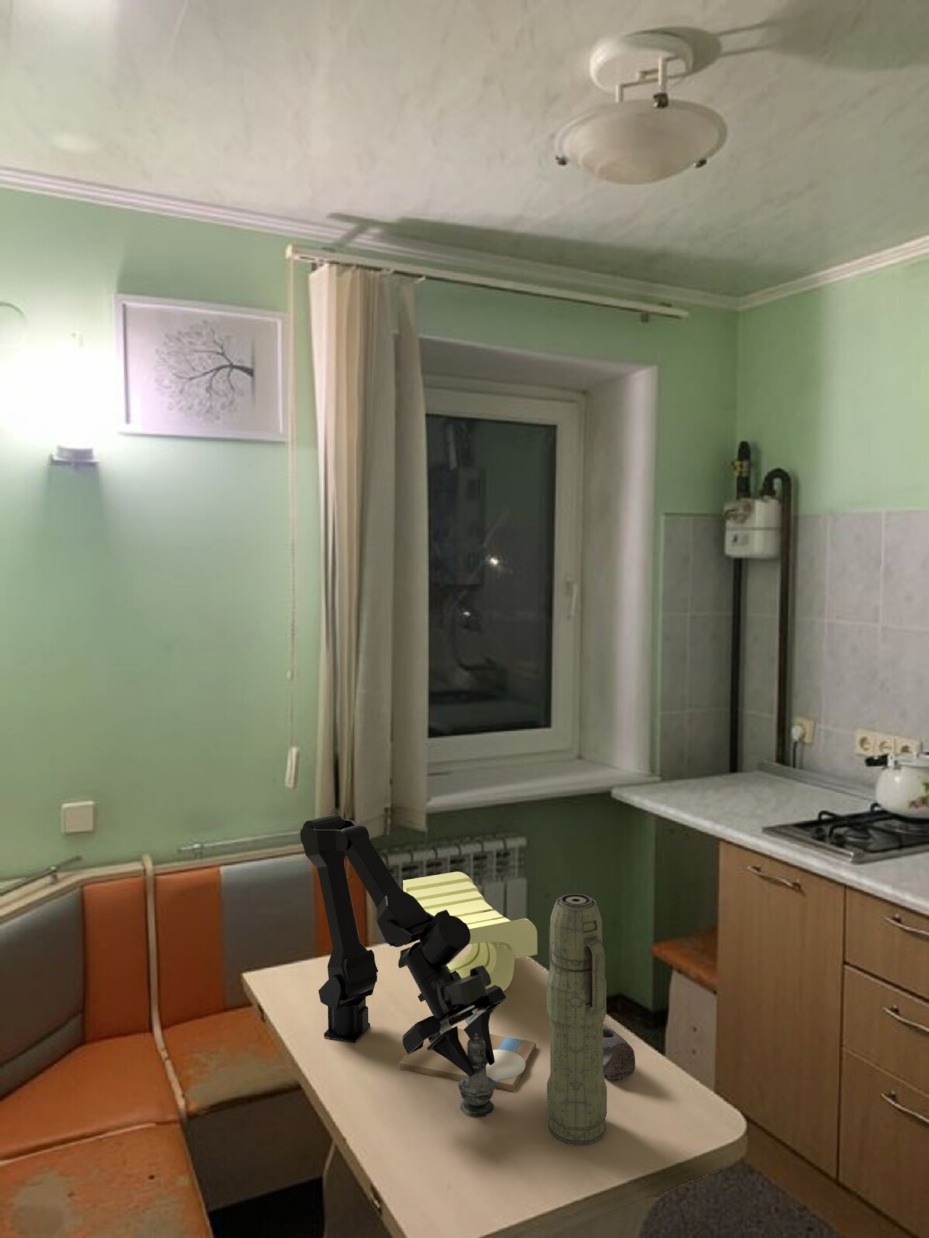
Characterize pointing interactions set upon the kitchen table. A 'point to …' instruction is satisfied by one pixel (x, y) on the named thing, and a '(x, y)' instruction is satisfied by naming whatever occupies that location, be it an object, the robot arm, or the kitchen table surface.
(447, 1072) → the board
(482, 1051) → the dark grey chess piece
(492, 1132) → the kitchen table surface
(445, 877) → the slatted curved stool
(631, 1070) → the perforated stone tool
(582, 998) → the thermos
